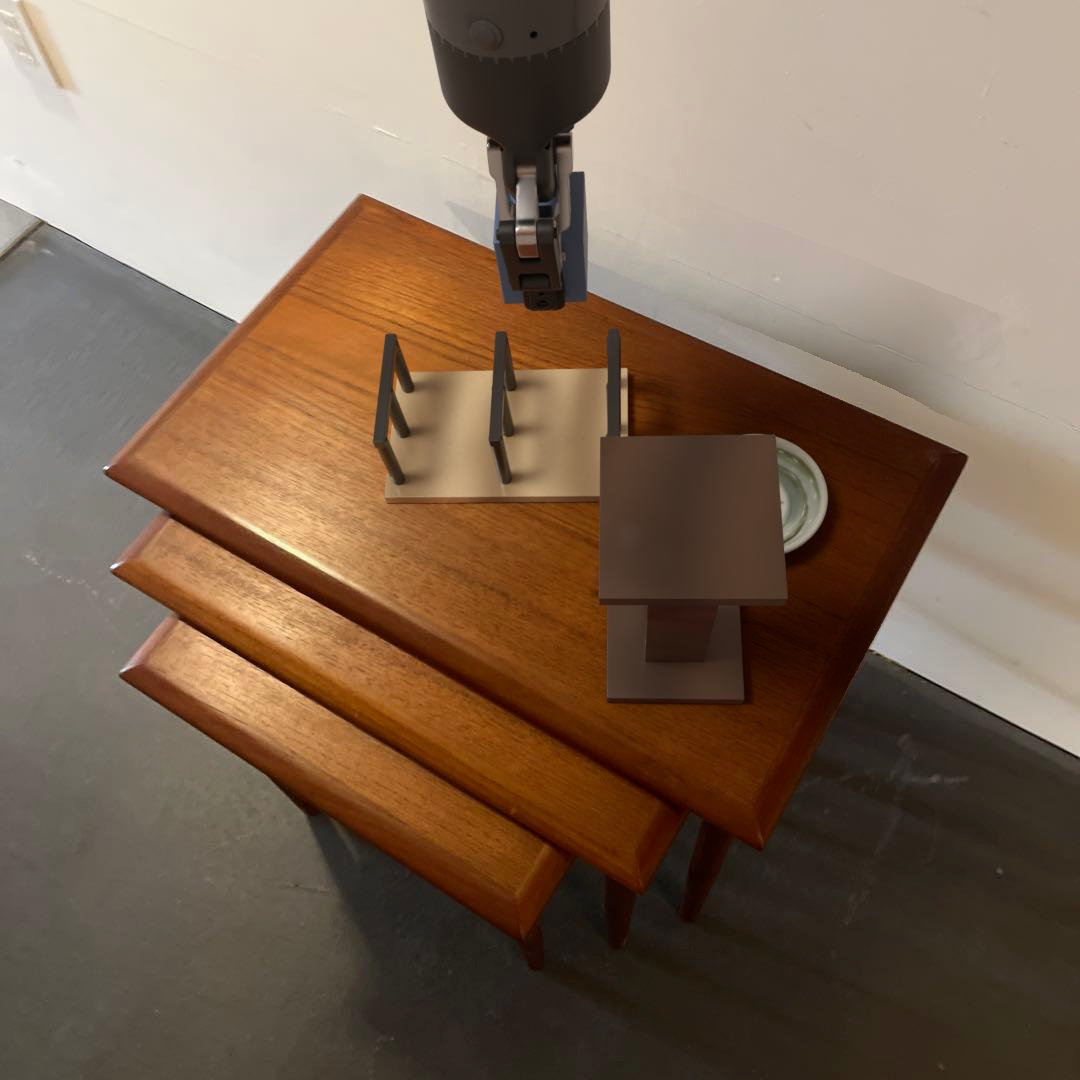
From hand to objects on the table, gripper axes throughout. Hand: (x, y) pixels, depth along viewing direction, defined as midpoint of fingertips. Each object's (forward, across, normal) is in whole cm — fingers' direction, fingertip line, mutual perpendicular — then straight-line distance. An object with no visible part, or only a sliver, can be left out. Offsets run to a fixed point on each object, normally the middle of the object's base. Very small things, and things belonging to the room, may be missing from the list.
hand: (546, 265), depth 54 cm
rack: (+21, +1, +4) cm, 22 cm away
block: (0, 0, 0) cm, 0 cm away
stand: (+21, -15, -8) cm, 27 cm away
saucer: (+21, -5, -14) cm, 26 cm away
